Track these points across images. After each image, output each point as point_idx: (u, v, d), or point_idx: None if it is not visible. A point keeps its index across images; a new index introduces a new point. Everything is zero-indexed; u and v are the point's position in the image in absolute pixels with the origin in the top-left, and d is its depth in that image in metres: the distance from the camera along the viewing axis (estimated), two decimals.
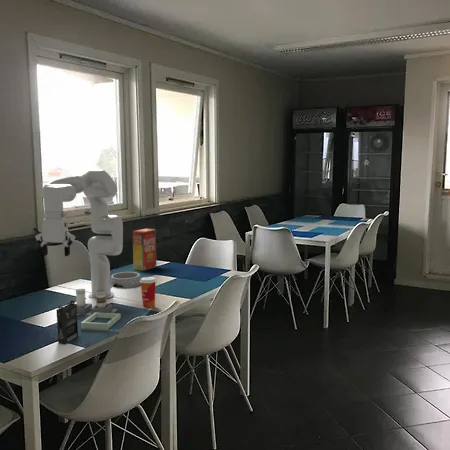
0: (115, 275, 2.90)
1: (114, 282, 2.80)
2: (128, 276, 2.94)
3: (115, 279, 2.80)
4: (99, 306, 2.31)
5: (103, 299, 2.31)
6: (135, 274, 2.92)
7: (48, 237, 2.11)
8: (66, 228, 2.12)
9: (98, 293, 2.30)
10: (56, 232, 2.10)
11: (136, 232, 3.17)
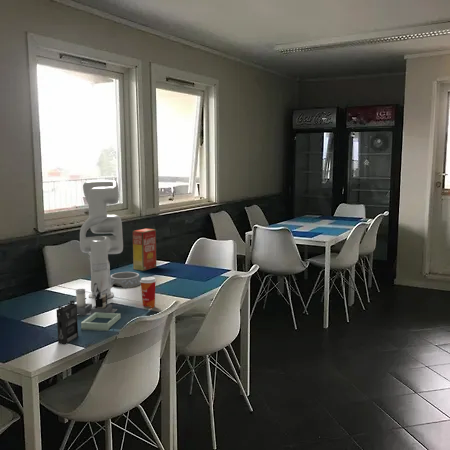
0: (114, 275, 2.90)
1: (113, 282, 2.80)
2: (127, 276, 2.94)
3: (114, 279, 2.80)
4: None
5: (103, 299, 2.31)
6: (134, 274, 2.92)
7: (103, 286, 2.29)
8: None
9: (98, 293, 2.30)
10: (106, 280, 2.32)
11: (136, 232, 3.17)
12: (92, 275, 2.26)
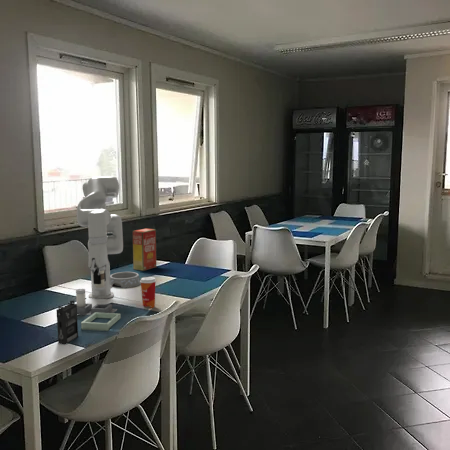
0: (114, 275, 2.90)
1: (113, 282, 2.81)
2: (127, 276, 2.94)
3: (114, 279, 2.80)
4: None
5: (102, 276, 2.14)
6: (134, 274, 2.92)
7: (102, 262, 2.12)
8: None
9: (96, 269, 2.13)
10: (105, 256, 2.15)
11: (136, 232, 3.17)
12: (90, 249, 2.10)
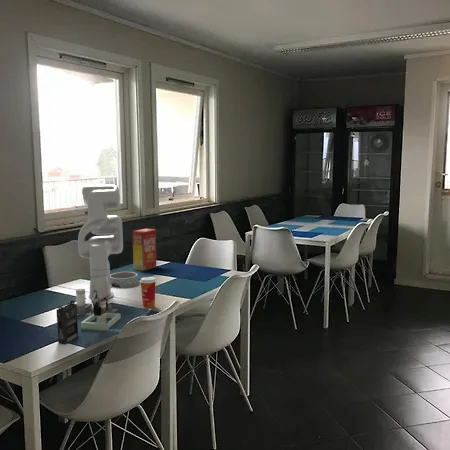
0: (113, 275, 2.90)
1: (112, 282, 2.81)
2: (126, 276, 2.94)
3: (113, 279, 2.80)
4: (99, 317, 2.16)
5: (103, 310, 2.16)
6: (133, 274, 2.92)
7: (103, 294, 2.14)
8: None
9: None
10: (106, 287, 2.17)
11: (136, 232, 3.17)
12: (91, 282, 2.11)
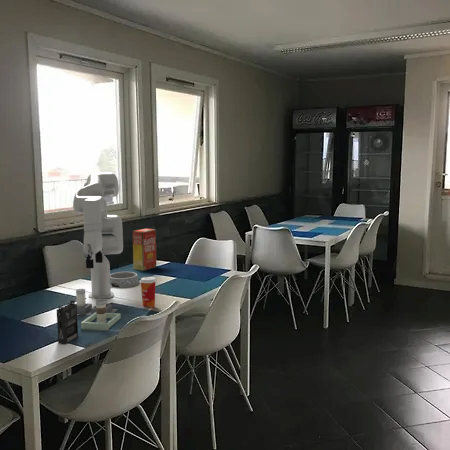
0: (113, 275, 2.90)
1: (111, 282, 2.81)
2: (126, 276, 2.94)
3: (112, 279, 2.81)
4: (99, 317, 2.16)
5: (103, 310, 2.16)
6: (133, 274, 2.92)
7: (96, 248, 2.19)
8: None
9: (98, 303, 2.15)
10: (100, 242, 2.22)
11: (136, 232, 3.17)
12: (85, 236, 2.16)
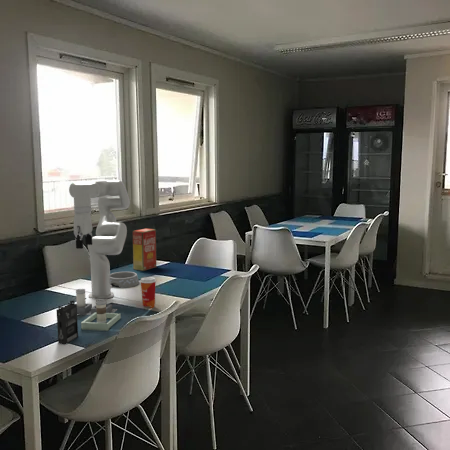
0: (112, 275, 2.90)
1: (111, 282, 2.81)
2: (125, 276, 2.94)
3: (112, 279, 2.81)
4: (99, 317, 2.16)
5: (103, 310, 2.16)
6: (132, 274, 2.92)
7: (86, 230, 2.33)
8: None
9: (98, 303, 2.15)
10: (89, 224, 2.36)
11: (136, 232, 3.17)
12: (75, 218, 2.30)
